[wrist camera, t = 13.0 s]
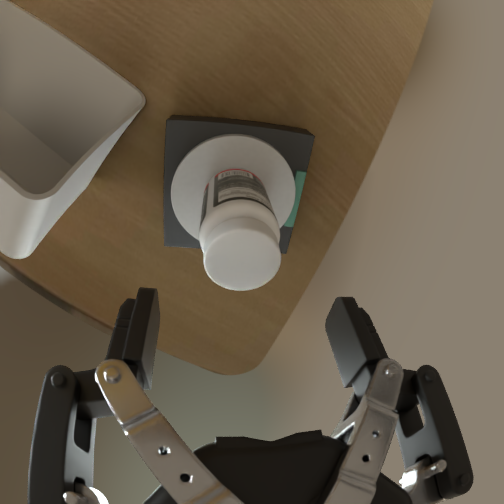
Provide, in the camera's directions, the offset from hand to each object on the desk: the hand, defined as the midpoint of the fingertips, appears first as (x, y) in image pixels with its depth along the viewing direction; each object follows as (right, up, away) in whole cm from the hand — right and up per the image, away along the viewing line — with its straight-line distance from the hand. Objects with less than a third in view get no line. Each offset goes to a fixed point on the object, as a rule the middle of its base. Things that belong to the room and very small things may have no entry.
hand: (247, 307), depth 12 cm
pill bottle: (-1, +7, +9) cm, 12 cm away
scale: (-2, +8, +12) cm, 15 cm away
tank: (-22, +16, +4) cm, 28 cm away
